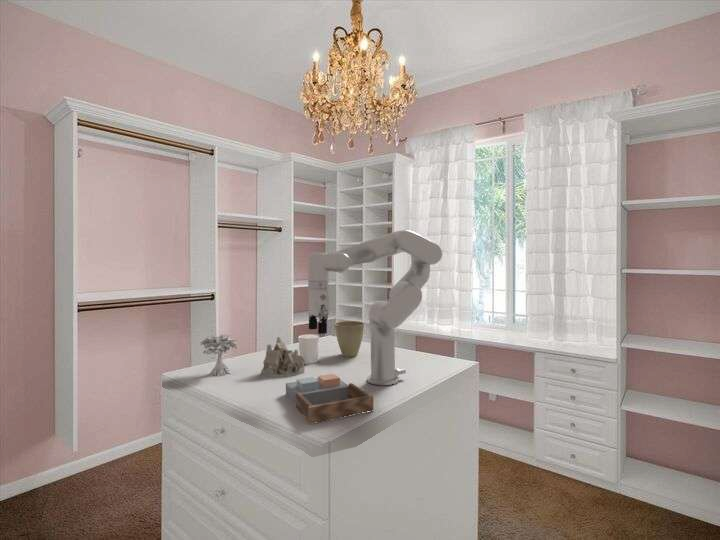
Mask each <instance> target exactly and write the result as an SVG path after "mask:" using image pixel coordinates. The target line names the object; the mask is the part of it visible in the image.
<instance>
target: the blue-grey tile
mask: <svg viewBox="0 0 720 540" xmlns="http://www.w3.org/2000/svg"><path fill="white" fill-rule="evenodd" d="M316 379H317V378H315V377H314V376H309V377H301V378H297V379H296V382H297V387H298V388H299V389H300V390H301V391H306V390H312V389H318V388H319V381H318V380H316Z"/></svg>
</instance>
